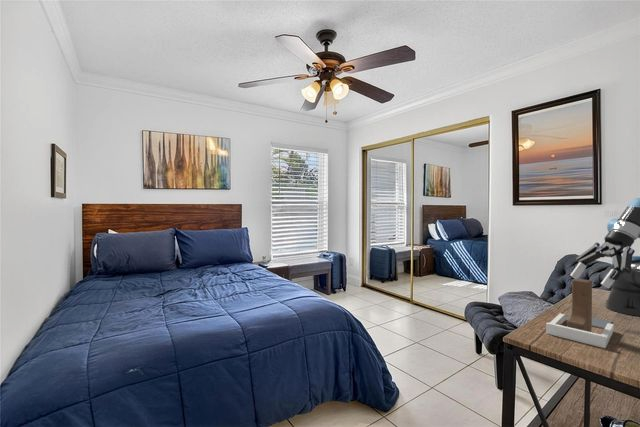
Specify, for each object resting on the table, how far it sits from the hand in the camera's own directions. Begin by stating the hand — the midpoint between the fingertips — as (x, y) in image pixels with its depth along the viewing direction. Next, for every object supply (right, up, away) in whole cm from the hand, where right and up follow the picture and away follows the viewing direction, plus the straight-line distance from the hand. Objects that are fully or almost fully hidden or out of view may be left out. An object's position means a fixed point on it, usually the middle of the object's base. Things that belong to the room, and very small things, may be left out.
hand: (588, 281), depth 115 cm
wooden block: (-11, -16, -9) cm, 22 cm away
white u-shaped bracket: (-11, -16, -9) cm, 21 cm away
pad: (+1, -15, +2) cm, 16 cm away
